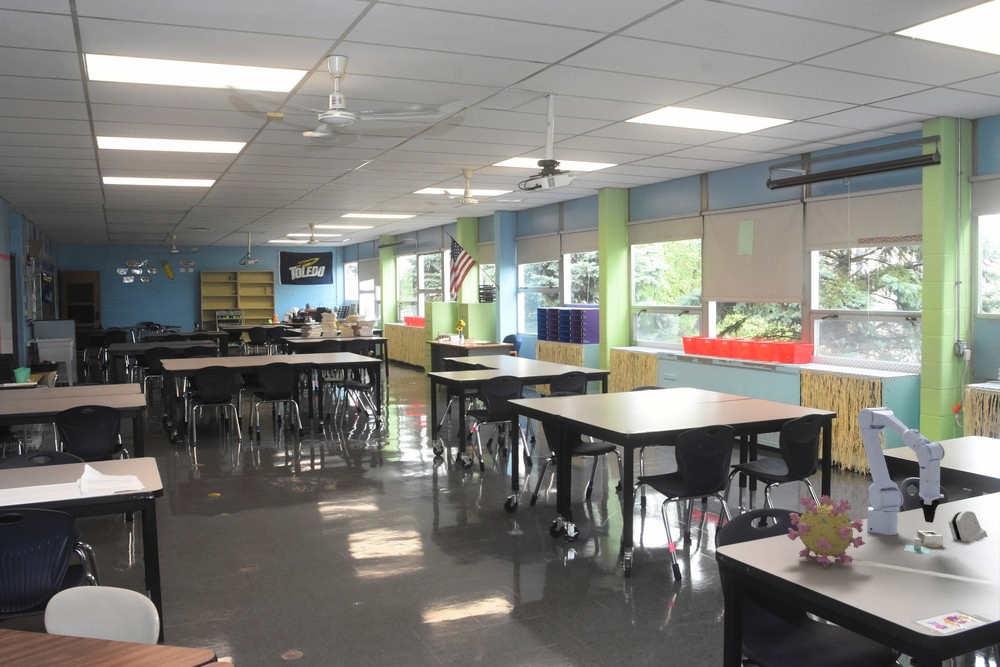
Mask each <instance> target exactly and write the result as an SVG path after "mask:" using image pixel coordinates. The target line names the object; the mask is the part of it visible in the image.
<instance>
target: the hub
mask: <svg viewBox="0 0 1000 667" xmlns="http://www.w3.org/2000/svg"><path fill="white" fill-rule="evenodd" d="M927 535H933V534H927ZM921 546H923V547H924V546H926V547H929V548H930V547H931V548H941V547H943V545H925V544H923V543H922V542H921Z"/></svg>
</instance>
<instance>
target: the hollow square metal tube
mask: <svg viewBox="0 0 1000 667" xmlns="http://www.w3.org/2000/svg"><path fill="white" fill-rule="evenodd" d="M927 534H933V535H927ZM916 538H920V539H921V542H922V543H923V544H925V545H942V546H943V545H944V535H943V534H940V533H939V532H937V531H936V530H916Z"/></svg>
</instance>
